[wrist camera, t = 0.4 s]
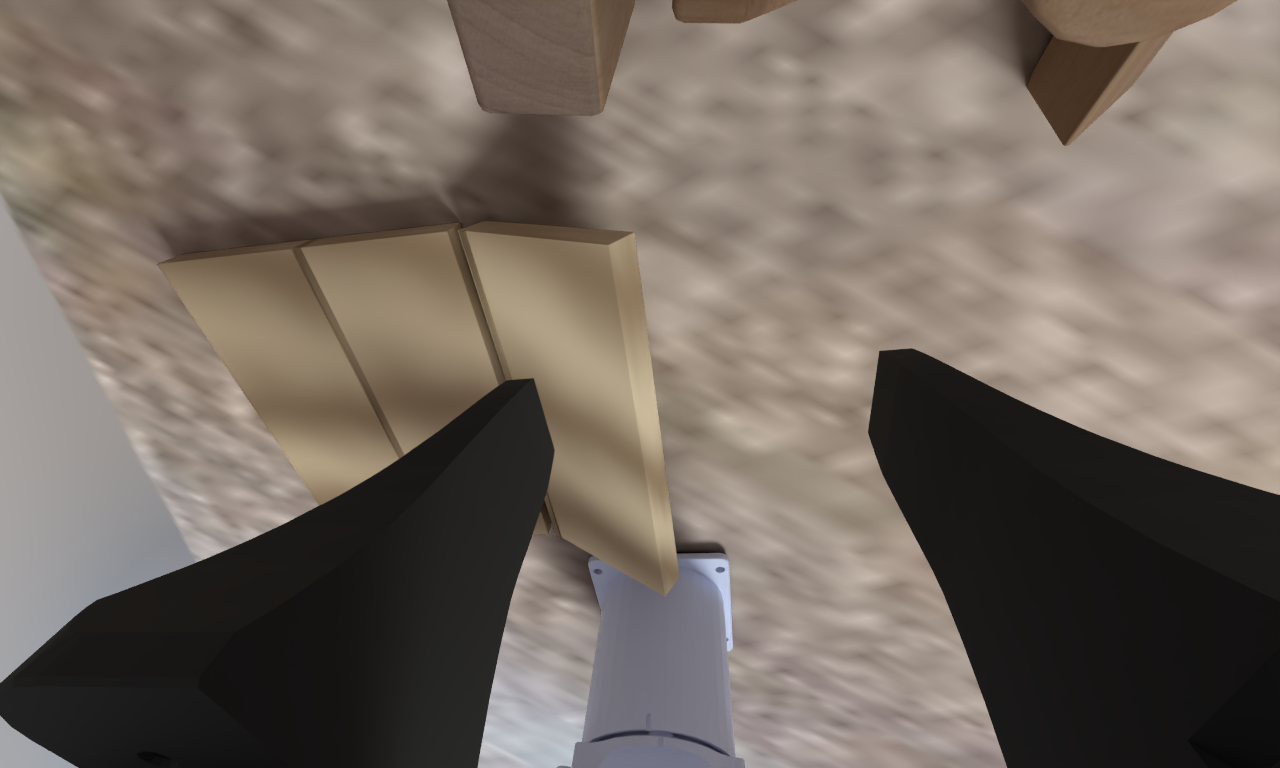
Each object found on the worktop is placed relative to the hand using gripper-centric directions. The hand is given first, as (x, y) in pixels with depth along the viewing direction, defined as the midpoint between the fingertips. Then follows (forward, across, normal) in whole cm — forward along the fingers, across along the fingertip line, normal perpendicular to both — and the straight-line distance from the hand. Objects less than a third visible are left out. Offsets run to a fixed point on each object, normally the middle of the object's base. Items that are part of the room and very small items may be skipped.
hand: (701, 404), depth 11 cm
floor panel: (+10, +15, +6) cm, 18 cm away
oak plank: (+8, +5, +6) cm, 11 cm away
